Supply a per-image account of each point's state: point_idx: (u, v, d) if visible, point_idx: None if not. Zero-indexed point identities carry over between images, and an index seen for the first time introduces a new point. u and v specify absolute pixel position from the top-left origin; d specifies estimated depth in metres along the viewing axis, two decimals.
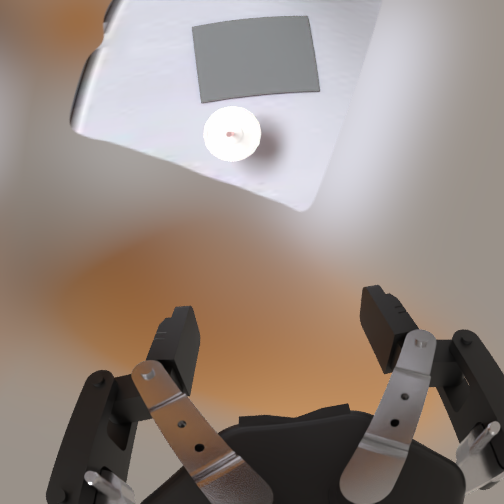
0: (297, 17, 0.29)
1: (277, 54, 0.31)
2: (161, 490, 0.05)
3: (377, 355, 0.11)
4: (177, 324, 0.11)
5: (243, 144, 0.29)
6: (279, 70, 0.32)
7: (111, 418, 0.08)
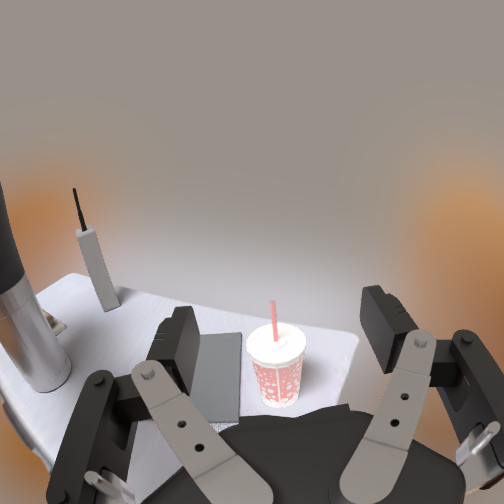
0: None
1: (200, 357, 0.38)
2: (161, 490, 0.05)
3: (377, 355, 0.11)
4: (177, 324, 0.11)
5: (287, 334, 0.29)
6: (217, 356, 0.38)
7: (111, 418, 0.08)
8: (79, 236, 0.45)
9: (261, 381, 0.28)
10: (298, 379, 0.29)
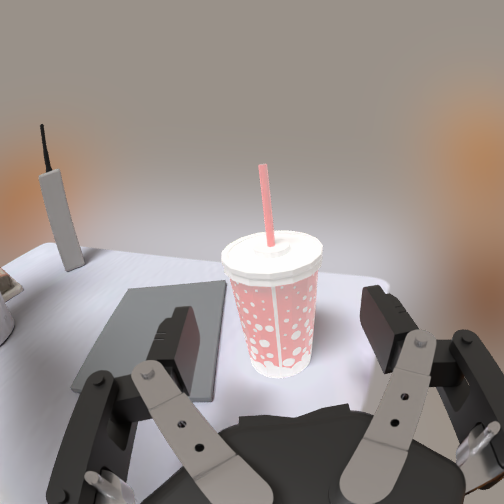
0: (125, 295, 0.31)
1: (165, 310, 0.27)
2: (161, 490, 0.05)
3: (377, 355, 0.11)
4: (177, 324, 0.11)
5: (290, 241, 0.18)
6: None
7: (111, 418, 0.08)
8: (41, 176, 0.34)
9: (248, 324, 0.17)
10: (311, 323, 0.18)
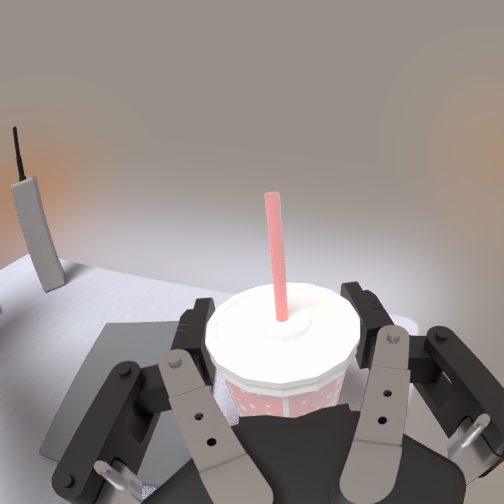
0: (102, 331, 0.25)
1: (146, 358, 0.21)
2: (161, 490, 0.05)
3: None
4: (200, 315, 0.12)
5: (310, 305, 0.12)
6: None
7: (133, 409, 0.09)
8: (13, 187, 0.28)
9: None
10: None
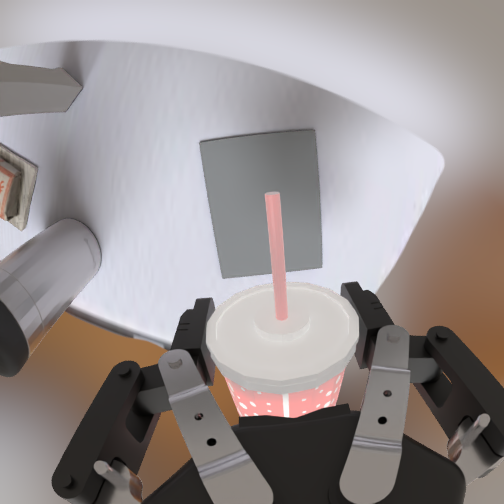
0: (202, 155, 0.28)
1: (265, 181, 0.30)
2: (161, 490, 0.05)
3: None
4: (200, 315, 0.12)
5: (309, 304, 0.12)
6: (288, 179, 0.30)
7: (133, 409, 0.09)
8: None
9: None
10: None
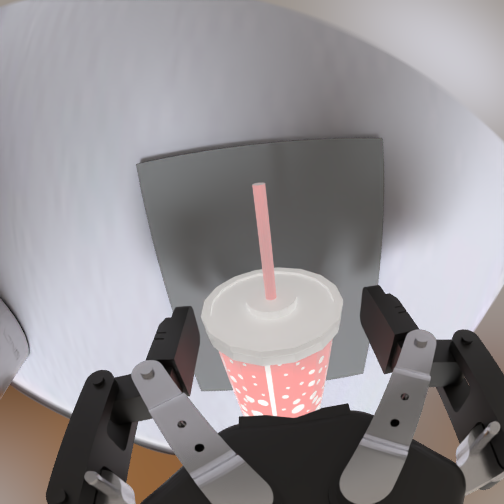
0: (144, 191, 0.13)
1: (276, 245, 0.14)
2: (161, 489, 0.05)
3: (377, 355, 0.11)
4: (177, 324, 0.11)
5: (299, 288, 0.13)
6: (324, 241, 0.14)
7: (111, 418, 0.08)
8: None
9: (237, 392, 0.13)
10: (319, 392, 0.13)
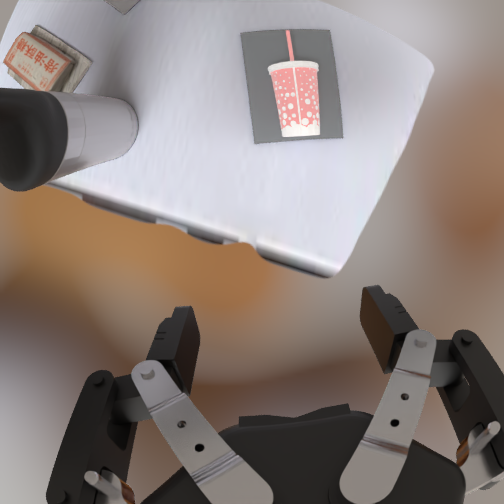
0: (243, 41, 0.30)
1: None
2: (161, 490, 0.05)
3: (377, 355, 0.11)
4: (177, 324, 0.11)
5: None
6: None
7: (111, 418, 0.08)
8: None
9: (281, 97, 0.29)
10: (316, 100, 0.29)
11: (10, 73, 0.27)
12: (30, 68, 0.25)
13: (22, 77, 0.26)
